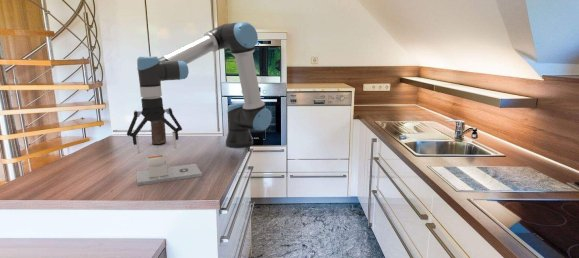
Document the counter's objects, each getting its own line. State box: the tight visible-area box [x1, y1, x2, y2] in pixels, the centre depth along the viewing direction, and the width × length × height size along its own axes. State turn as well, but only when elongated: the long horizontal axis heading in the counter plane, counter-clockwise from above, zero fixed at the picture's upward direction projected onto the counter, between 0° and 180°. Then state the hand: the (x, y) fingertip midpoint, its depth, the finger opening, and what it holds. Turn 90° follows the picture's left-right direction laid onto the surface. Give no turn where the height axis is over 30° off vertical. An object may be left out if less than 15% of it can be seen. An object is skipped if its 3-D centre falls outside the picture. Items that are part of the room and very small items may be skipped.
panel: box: [136, 163, 203, 187], centre depth 135 cm, size 24×14×4 cm, turn 116°
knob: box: [146, 154, 168, 178], centre depth 132 cm, size 7×7×8 cm
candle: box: [150, 114, 167, 145], centre depth 183 cm, size 8×7×20 cm
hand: (157, 150), depth 132 cm, fingers open, 13 cm apart
